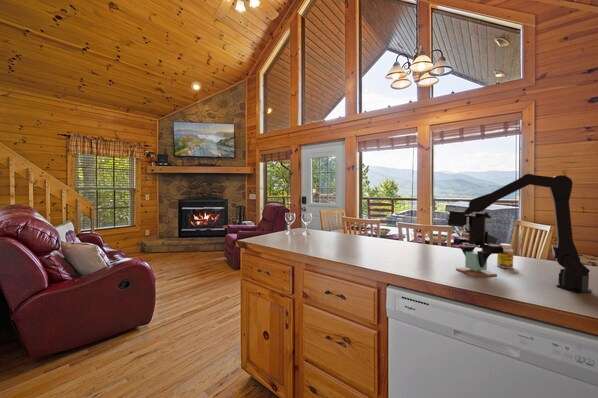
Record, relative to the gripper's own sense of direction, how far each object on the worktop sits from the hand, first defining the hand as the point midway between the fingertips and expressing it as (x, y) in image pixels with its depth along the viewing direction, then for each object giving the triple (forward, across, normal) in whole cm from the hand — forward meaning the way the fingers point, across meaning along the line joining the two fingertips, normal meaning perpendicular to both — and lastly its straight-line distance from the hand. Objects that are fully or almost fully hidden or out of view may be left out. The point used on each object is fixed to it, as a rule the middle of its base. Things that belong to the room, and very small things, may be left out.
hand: (475, 265), depth 109 cm
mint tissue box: (+1, 0, 0) cm, 1 cm away
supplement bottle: (+3, +4, -20) cm, 21 cm away
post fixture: (+3, 0, 0) cm, 3 cm away
